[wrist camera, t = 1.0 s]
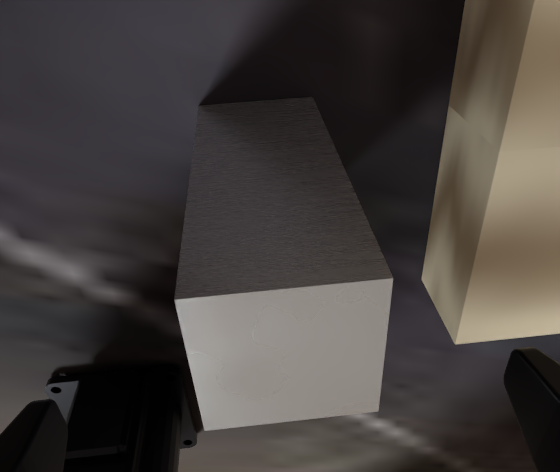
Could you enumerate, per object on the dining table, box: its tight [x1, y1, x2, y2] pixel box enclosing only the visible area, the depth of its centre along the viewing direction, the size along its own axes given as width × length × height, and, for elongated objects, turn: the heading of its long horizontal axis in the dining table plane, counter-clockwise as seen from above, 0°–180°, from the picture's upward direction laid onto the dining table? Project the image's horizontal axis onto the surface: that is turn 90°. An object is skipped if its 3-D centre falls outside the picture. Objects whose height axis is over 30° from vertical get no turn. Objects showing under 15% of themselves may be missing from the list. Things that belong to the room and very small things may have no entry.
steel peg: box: [174, 97, 393, 431], centre depth 14 cm, size 4×4×10 cm
